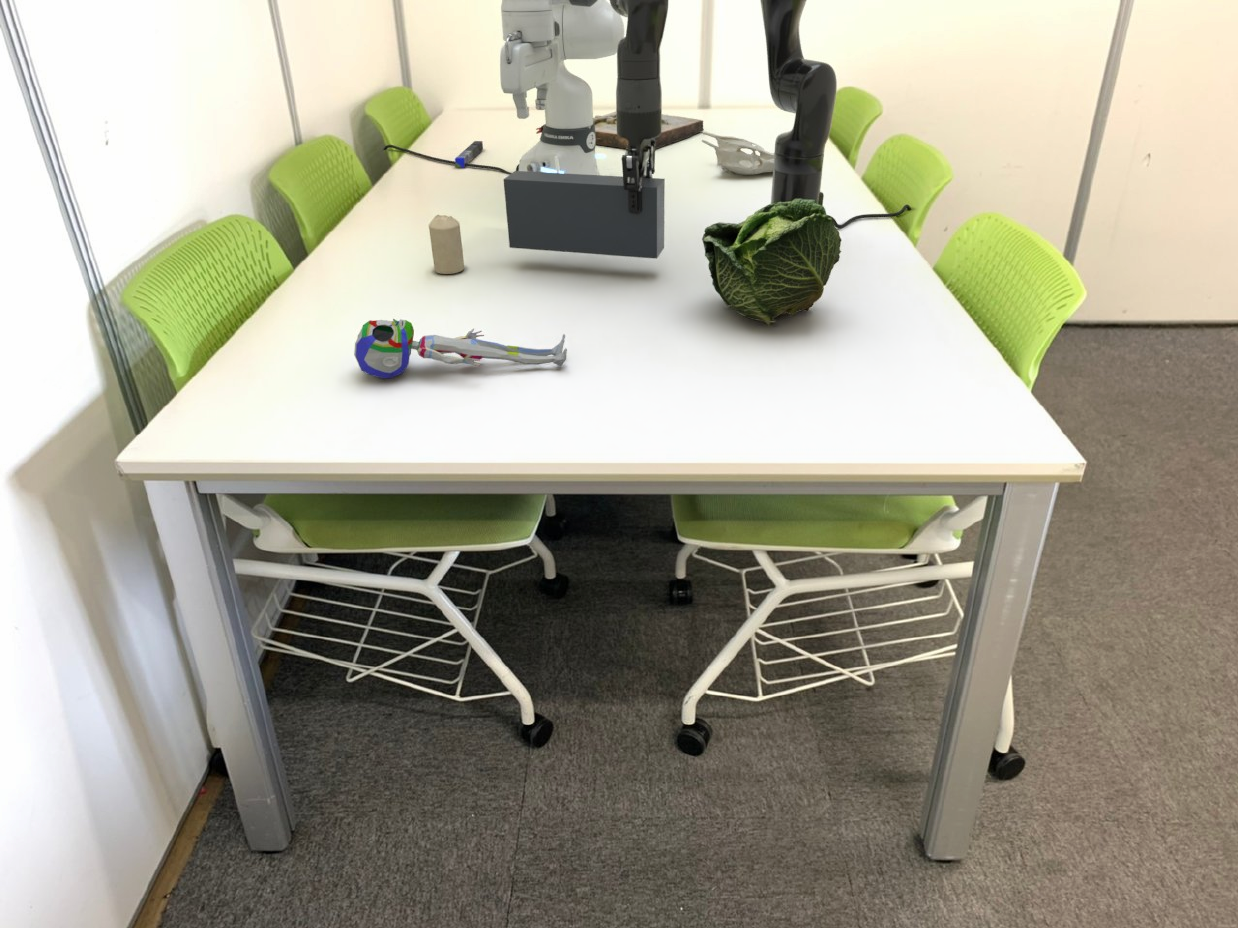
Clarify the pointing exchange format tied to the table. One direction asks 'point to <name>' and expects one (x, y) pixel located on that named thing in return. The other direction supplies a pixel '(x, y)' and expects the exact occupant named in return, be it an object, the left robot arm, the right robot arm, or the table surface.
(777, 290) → the vegetable
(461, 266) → the candle
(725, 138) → the anatomical model
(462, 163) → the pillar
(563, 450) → the table surface
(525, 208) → the box
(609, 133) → the plaque
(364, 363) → the toy
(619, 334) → the table surface
